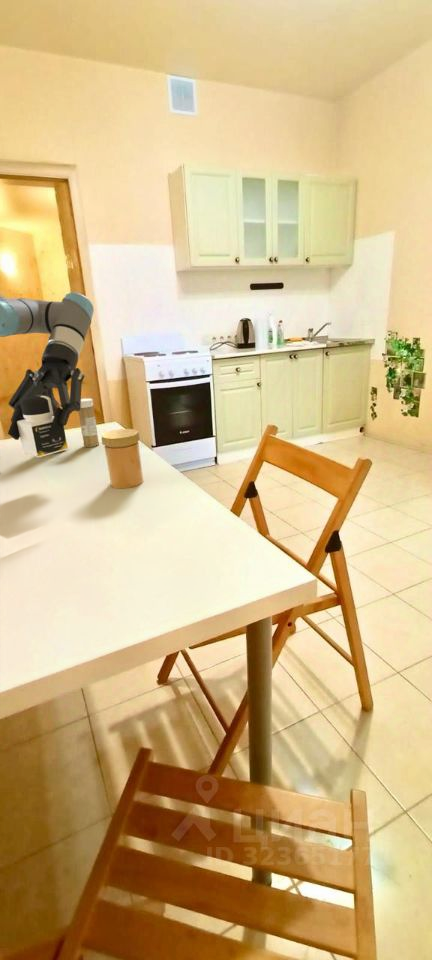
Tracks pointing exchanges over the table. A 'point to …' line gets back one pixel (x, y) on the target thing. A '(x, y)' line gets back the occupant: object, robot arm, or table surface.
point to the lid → (120, 437)
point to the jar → (124, 466)
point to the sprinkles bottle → (88, 423)
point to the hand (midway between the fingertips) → (33, 437)
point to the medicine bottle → (39, 427)
